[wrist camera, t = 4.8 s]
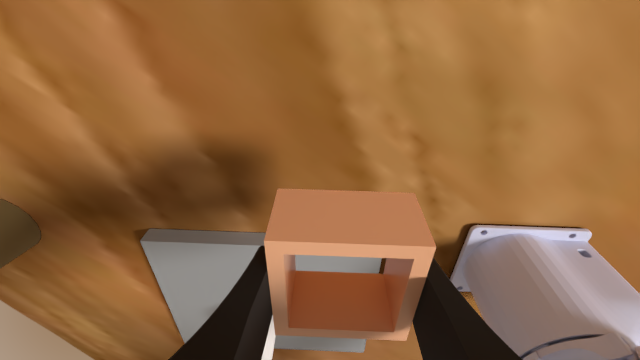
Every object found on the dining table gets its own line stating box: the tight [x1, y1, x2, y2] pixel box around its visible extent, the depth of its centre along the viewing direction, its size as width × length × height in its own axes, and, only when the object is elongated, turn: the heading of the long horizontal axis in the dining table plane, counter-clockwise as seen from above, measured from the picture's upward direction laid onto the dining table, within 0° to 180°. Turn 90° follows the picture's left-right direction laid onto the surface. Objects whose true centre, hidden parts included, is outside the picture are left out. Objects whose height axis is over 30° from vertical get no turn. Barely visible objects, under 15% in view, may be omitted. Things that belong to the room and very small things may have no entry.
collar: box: [264, 189, 436, 341], centre depth 12 cm, size 6×6×3 cm
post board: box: [140, 229, 382, 360], centre depth 27 cm, size 20×16×6 cm
